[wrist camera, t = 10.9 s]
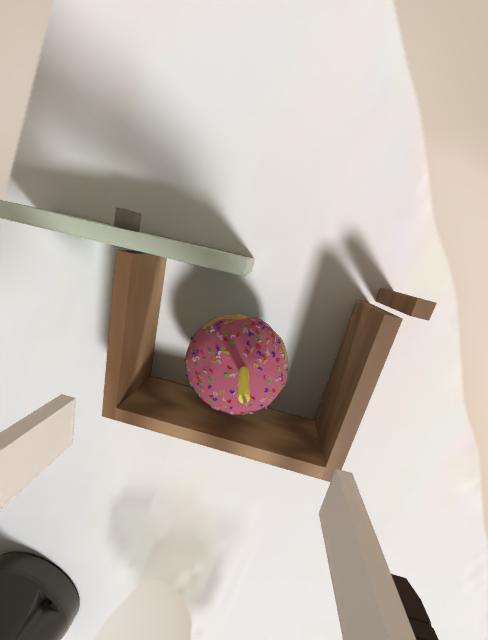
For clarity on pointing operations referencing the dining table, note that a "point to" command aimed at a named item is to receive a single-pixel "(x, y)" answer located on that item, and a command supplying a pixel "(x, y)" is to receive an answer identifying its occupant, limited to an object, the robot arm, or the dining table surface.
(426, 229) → the dining table surface
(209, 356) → the cupcake
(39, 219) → the grey flat panel
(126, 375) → the holder
